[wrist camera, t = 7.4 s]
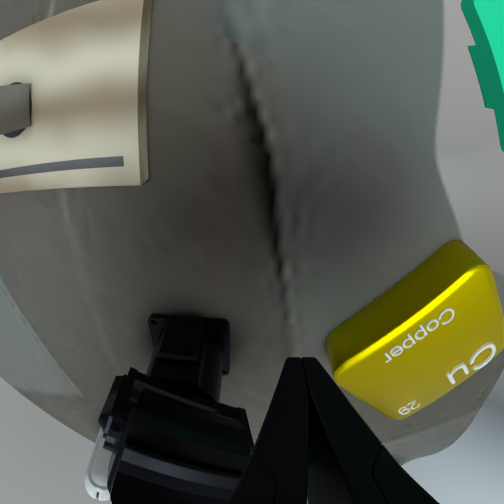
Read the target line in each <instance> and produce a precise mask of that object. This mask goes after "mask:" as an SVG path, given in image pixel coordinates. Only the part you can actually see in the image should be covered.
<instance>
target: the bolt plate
mask: <svg viewBox="0 0 504 504" xmlns="http://www.w3.org/2000/svg"><path fill="white" fill-rule="evenodd" d="M152 3H153V0H100V1H96V2H93V3H89V4H86V5H83V6H80V7H77V8H74V9H71V10H68V11H65V12H63V13H60V14H57V15H55V16H52V17H50V18H47V19H45V20H42V21H40V22H38V23H35V24H33V25H31V26H29V27H26V28H24V29H22V30H20V31H18V32H16V33H14V34H12V35H10V36H8V37H6V38H4V39H3V40H1V41H0V86H4V85H13V84H25V83H29V114H30V127H26V128H23V129H19V130H15V131H12V132H9V133H5V134H2V135H0V193H7V192H18V191H29V190H42V189H56V188H73V187H95V186H131V185H142V184H143V183H144V182H145V181H147V180H148V179H149V173H148V150H147V72H148V51H149V36H150V23H151V13H152Z"/></svg>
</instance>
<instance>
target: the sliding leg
mask: <svg viewBox="0 0 504 504" xmlns="http://www.w3.org/2000/svg"><path fill="white" fill-rule="evenodd" d="M26 127H30V114H29V83H25V84H13V85H4V86H0V135H2V134H5V133H9V132H12V131H15V130H19V129H23V128H26Z"/></svg>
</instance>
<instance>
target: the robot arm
mask: <svg viewBox="0 0 504 504" xmlns="http://www.w3.org/2000/svg"><path fill="white" fill-rule="evenodd" d="M154 320H155V321H154ZM148 323H149V328H150V332H151V336H152V341H153V345H154V352H153V355H152V358H151V361H150V364H149V367H148V370H147V373H146V375H145V374H142V373H140V372H138V370H136V369H134V368H132V367H130V370H129V372H128V375H125V374H124V376H116V377H115V380H114V383H113V385H112V388H111V390H110V393H109V395H108V398H107V400H106V402H105V405H104V407H103V410H102V412H101V414H100V417H99V420H98V423H99V425H100V427H101V429H102V431H103V436H102V438H105V441H104V444H103V448H102V449H105V450H107V451H109V452H112V454H111V458H110V461H109V467H108V477H107V488H108V491H109V493H110V499H111V502H112V504H307V498H308V504H440V503H438V502H437V501H436V500H435V499H434V498H433V497H432V496H431V495H430V494H428V493H427V492H426V491H425V490H424V489H423V488H422V487H421V486H420V485H419V484H418V483H417V482H416V481H415V480H414V479H413V478H412V477H411V476H410V475H409V474H408V473H407V472H406V471H405V470H404V469H403V468H402V467H401V466H400V465H399V464H398V462H397V461H396V460H395V459H394V458H393V456H392V455H391V454H390V453H389V452H388V450H387V449H386V448H385V446H384V445H381V444H382V443H381V441H380V440H379V439H378V438H377V436H376V435H375V434H374V432H373V431H372V430H371V429H370V427H369V426H368V425H367V424H366V422H365V421H364V420H363V418H362V417H361V416H360V414H359V413H358V412H357V411H356V409H355V408H354V407H353V405H352V404H351V403H350V402H349V400H348V399H347V398H346V396H345V395H344V394H343V392H342V391H341V390H340V389H339V387H338V386H337V385H336V383H335V382H334V381H333V379H332V378H331V377H330V376H329V374H328V373H327V372H326V370H325V369H324V368H323V366H322V365H321V364H320V362H319V361H318V360H317V359H316V358H315V357H302V358H300V357H287V358H286V360H285V363H284V366H283V369H282V372H281V375H280V378H279V381H278V384H277V387H276V389H275V392H274V395H273V398H272V401H271V403H270V406H269V409H268V412H267V414H266V417H265V420H264V422H263V425H262V428H261V430H260V433H259V435H258V438H257V441H256V443H255V446H254V443H253V439H252V435H251V431H250V427H249V423H248V419H247V414H246V410H245V409H243V408H239V407H238V408H235V407H232V406H229V405H225V404H222V403H219V398H220V388H221V379H222V375H228V374H229V370H230V325H229V322H228V321H226V320H219V319H204V318H190V317H178V316H167V315H157V314H152V315H150V317H149V319H148ZM221 326H225V327H221Z"/></svg>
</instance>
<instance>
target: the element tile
mask: <svg viewBox="0 0 504 504" xmlns="http://www.w3.org/2000/svg"><path fill="white" fill-rule="evenodd" d="M326 347H327V352H328V356H329V360H330V365H331V369H332V374H333V377H334V380H335V382H336V383H337V384H338V385H339V386H341V387H342V388H344V389H345V390H347V391H348V392H350V393H351V394H353V395H354V396H356V397H357V398H359V399H360V400H362V401H363V402H365V403H366V404H368V405H369V406H371V407H372V408H374V409H376V410H377V411H379V412H380V413H382V414H383V415H385V416H386V417H388V418H390V419H395V420H402V419H404V418H407V417H408V416H410V415H412V414H414V413H415V412H417V411H419V410H421V409H422V408H424V407H426V406H427V405H429V404H430V403H432V402H434V401H435V400H437V399H438V398H440V397H441V396H443V395H444V394H446V393H447V392H449V391H450V390H452V389H453V388H455V387H456V386H458V385H459V384H461V383H462V382H463V381H465V380H466V379H467V378H469V377H470V376H471V375H473V374H474V373H475V372H477V371H478V370H479V369H481V368H482V367H483V366H484V365H486V364H487V363H488V362H489V361H491V360H492V359H493V358H494V357H495V356H497V355H498V354H499V353H500V352H501V351H502V350H503V349H504V316H503V311H502V307H501V302H500V298H499V294H498V290H497V286H496V283H495V279H494V276H493V272H492V270H491V268H490V267H489V266H488V265H487V264H486V263H485V262H484V261H483V260H482V259H481V258H480V257H479V256H478V255H477V254H476V253H475V252H474V251H473V250H472V249H470V247H468V246H467V245H466V244H465V243H464V242H462V241H461V240H453V241H450V242H448V243H446V244H445V245H443V246H442V247H440V248H439V249H438V250H437V251H436V252H435V253H433V254H432V255H431V256H430V257H429V258H428V259H426V260H425V261H424V262H423V263H422V264H420V265H419V266H418V267H417V268H415V269H414V270H413V271H412V272H411V273H409V274H408V275H407V276H406V277H404V278H403V279H402V280H400V281H399V282H398V283H397V284H395V285H394V286H393V287H391V288H390V289H389V290H388V291H386V292H385V293H384V294H382V295H381V296H380V297H378V298H377V299H376V300H374V301H373V302H371V303H370V304H369V305H367V306H366V307H365V308H363V309H362V310H360V311H359V312H358V313H356V314H355V315H353V316H352V317H350V318H349V319H348V320H346V321H345V322H343V323H342V324H340V325H339V326H337V327H336V328H335V329H334V330H333V331H332V332H331V333H330V334H329V335H328V337H327V340H326Z"/></svg>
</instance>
